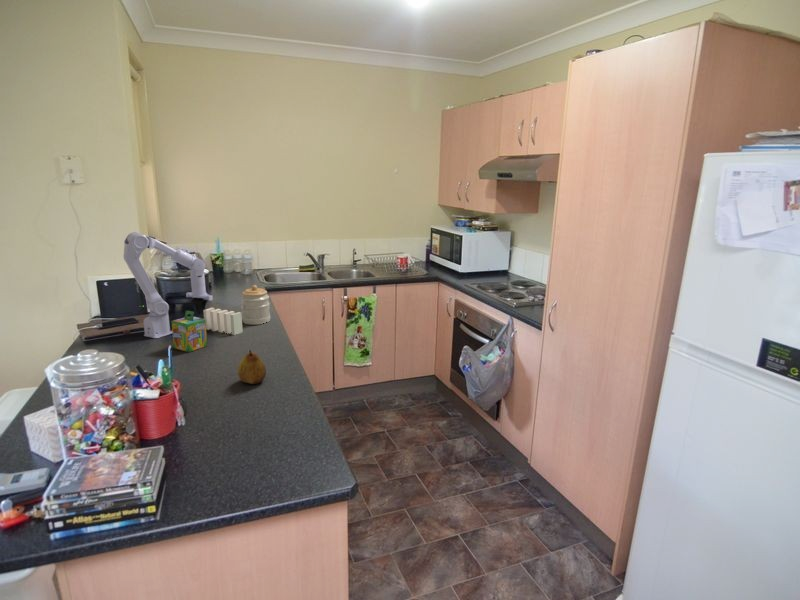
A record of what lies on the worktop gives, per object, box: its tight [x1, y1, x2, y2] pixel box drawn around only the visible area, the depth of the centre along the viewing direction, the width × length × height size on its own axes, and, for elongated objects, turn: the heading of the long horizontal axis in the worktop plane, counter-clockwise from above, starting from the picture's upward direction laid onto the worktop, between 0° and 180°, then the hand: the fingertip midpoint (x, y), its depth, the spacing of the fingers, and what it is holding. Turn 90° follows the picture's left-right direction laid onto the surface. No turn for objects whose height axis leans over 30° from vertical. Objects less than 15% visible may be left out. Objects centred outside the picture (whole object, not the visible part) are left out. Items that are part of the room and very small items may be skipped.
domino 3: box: [217, 309, 229, 333], centre depth 207 cm, size 2×5×9 cm, turn 154°
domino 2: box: [210, 308, 222, 332], centre depth 208 cm, size 2×5×9 cm, turn 154°
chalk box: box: [170, 310, 208, 353], centre depth 185 cm, size 9×9×15 cm
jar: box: [240, 284, 271, 326], centre depth 221 cm, size 13×13×18 cm
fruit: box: [237, 349, 267, 385], centre depth 154 cm, size 9×9×12 cm
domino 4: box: [223, 310, 236, 335], centre depth 205 cm, size 2×5×9 cm, turn 154°
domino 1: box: [203, 307, 216, 331], centre depth 210 cm, size 2×5×9 cm, turn 154°
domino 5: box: [230, 311, 244, 336], centre depth 203 cm, size 2×5×9 cm, turn 154°
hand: (201, 314), depth 212 cm, fingers closed
